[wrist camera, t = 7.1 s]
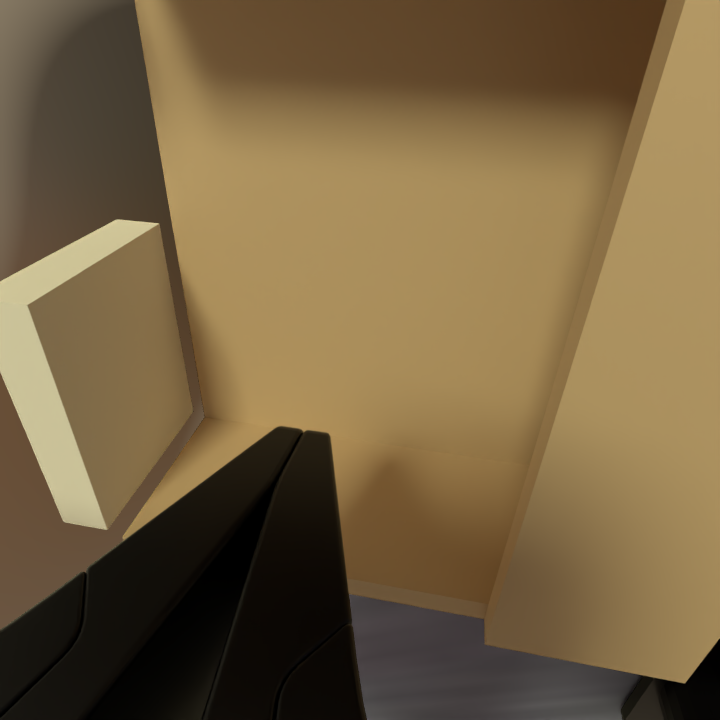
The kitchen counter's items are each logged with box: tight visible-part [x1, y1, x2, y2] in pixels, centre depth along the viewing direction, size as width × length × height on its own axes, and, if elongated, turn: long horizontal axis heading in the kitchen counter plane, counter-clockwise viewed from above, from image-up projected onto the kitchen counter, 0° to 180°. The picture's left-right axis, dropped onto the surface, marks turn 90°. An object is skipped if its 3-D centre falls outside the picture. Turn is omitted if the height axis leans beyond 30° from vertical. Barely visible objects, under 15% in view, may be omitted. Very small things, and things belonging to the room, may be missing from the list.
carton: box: [123, 0, 720, 683], centre depth 9 cm, size 12×11×5 cm
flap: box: [0, 220, 193, 530], centre depth 11 cm, size 5×1×4 cm, turn 178°
